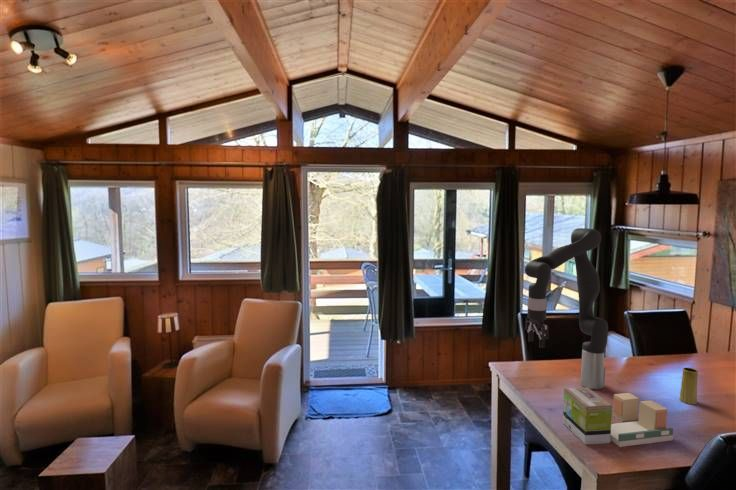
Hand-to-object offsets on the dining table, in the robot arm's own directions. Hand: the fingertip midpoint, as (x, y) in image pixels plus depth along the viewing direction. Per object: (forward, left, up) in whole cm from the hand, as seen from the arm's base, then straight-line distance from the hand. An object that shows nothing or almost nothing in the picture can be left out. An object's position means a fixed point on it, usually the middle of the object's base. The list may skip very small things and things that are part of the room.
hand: (536, 344), depth 182 cm
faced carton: (-27, +33, -23) cm, 49 cm away
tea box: (-3, +29, -25) cm, 38 cm away
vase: (-65, +14, -25) cm, 71 cm away
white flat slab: (-20, +33, -25) cm, 46 cm away
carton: (-27, +21, -25) cm, 42 cm away
